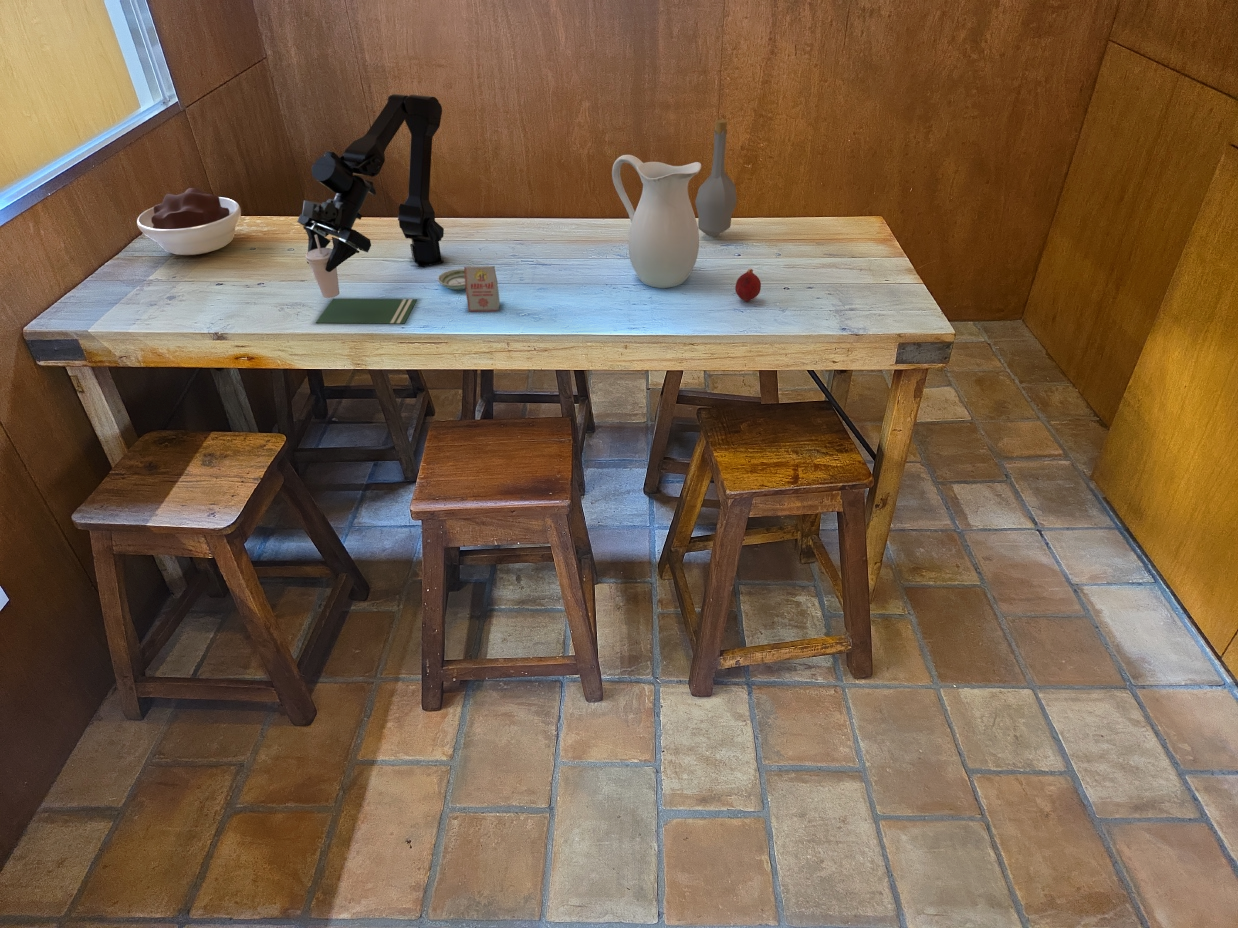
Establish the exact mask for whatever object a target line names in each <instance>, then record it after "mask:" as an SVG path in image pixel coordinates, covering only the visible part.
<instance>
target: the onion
mask: <svg viewBox="0 0 1238 928" xmlns="http://www.w3.org/2000/svg"><path fill="white" fill-rule="evenodd" d="M761 288H762V282H761V279H760V278H759V277H758V276H757V275H756V274H755V273H754V270H753V268H748V269H747V271H746V272H744V273H743V274H741V275H740V276H739V277H738V278H737V280H736V282H735V286H734V289H735V293H736V295H737V297H738V298H739V299H740V300H742V301H744V302H746V303H749V302H750V301H753V300H754V299H755V298H757V297H758V296H759V294H760V293H761V290H762V289H761Z"/></svg>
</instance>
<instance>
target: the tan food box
mask: <svg viewBox="0 0 1238 928" xmlns="http://www.w3.org/2000/svg"><path fill="white" fill-rule="evenodd" d="M463 269H464V272H465V288H466V289H465V295H466V302H467V309H468V310H467V311H468V312H499V309H500V304H501V301H500V293H499V284H498V278H497V272H496V268H495V265H493V266H492V265H490V266H489V265H487V266H464V267H463Z"/></svg>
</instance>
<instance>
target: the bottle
mask: <svg viewBox="0 0 1238 928" xmlns="http://www.w3.org/2000/svg"><path fill="white" fill-rule="evenodd" d="M727 126H728V120H727V119H716V120H715V129H714V135H713V137H714V139H713V156H712V166H711V171H710V174H709V176H708V177H707V178H706V179H705V181H704V182H702V184H701V185H700V186H698V191H697V194H696V198H695V202H694V204H695V208H696V212H697V216H698V217H697V221H698V223H697V226H698V230H700V231H701V232H702V233H703V234H705V235H706V236H708V237H711V238H718V237H719V236H720V235H722V233H724V232H726V231H727V230H729V229H730V228H731V225H732V217H733V213H734V211H735V208H736V206H737V203H738V196H737V188H736V184H735V183H734V182H733V180H732V179H731V178H730V177H729V176H728V175H727V173H726V171H725V170H726V169H725V168H726V165H725V160H726V159H725V158H726V142H727V134H728V128H727Z"/></svg>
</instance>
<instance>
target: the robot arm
mask: <svg viewBox="0 0 1238 928" xmlns="http://www.w3.org/2000/svg"><path fill="white" fill-rule="evenodd" d="M442 115H443V108H442V105H441V103H440V101H439V100H438V98H437V97H435V96H430V95H420V94H409V95H407V94H399V93H392V94H390V95H389V96H388V98H387V102H386V103H385V105H384V107H382V109H381V111H380V113H379V114H378V116H377V118H376V119H375V120H374V122H373V123H372V125H371V126H370V127H369V128H368V130H367V131H366V133H365V134H364V135H363V136H362V137H360V138H357V139H355V140H353V141H352V143H350V145H348V146H347V147H346V148H345V150H344V152H343V153H342V154H341V155H340V156H338V154H337V153H336V152H335V151H330V150H325V152H324V155H322V156H320V157H319V158H317V159H316V160H315V162H314V163H313V164H312V166H311V176H312V177H313V179H314V180H315V181H317V182H318V183H320V184H321V185H322V186H324V187H325V188H327V189H328V190H329V191H330V192H332V193H334V194H335V195H334V198H327V200H323V201H322V202H318V201H313V200H306V199H303V205H302V212H301V213H300V215H299V216H298V218H297V220H296V222H297V223H298V224H300V225H302V226H303V227H302V229H303V230H305V233H306V235H307V237H308V243H307V244H308V245H307V253H308V252H309V251H311V250H314V249H318V247H317V243H316V239H315V236H314V235H317V236H318V240H319V244H320V248H328V245H330V243H331V242H332V248H331V249H332V252H331V254H330V257H329V259H328V262H327V265H326V269H325V270H326V271H328V272H331V271H332V270H333V269H335V268H336V267H339V266H340V265H341V264H343V263H344V262H345V261H346V260H348V259H349V258H351V257H353V256H354V255H356V254H359V253H360V251H362V252H364V253H369V251H370V249H371V247H372V242H371V239H370V238H368V237H367V236H365V235H364V234H362V233H361V232H359V231H358V230H356V229H353V227H354V225H355V223H356V221H357V220H360V221H361V220H362V217H363V215H362V214H361V213H360V211H361V209H362V207H363V205H364V203H365V201H366V199H367V196H368V195H369V194H371V195H372V196H373V195H374V196H375V195H376V194H377V191H376V189H375V186H374V182H373V181H372V180H369V179H364V178H362V177H361V176H363V177H364V176H365V177H370V178H373V177H374V178H375V177H377V176H378V175H379V174H380V172H381V170H382V168H383V166H384V164H385V161H386V157H385V156H386V155H385V152H386V149H387V148H388V146H389V145H390V143H391V142H392V140H393V139H394V137H395V136H396V134H397V133H398V131H399V129H400V128H401V126H402V125H403V124H404V123H405V124H406V127H407V128H408V130H409V133H410V149H409V154H410V155H409V170H408V172H409V173H408V193H407V198H406V200H404V203H399V205H398V216H397V221H398V226H399V228H400V229H401V232H402V234H403V236H404V238H405V239H407V240H408V239H410V240H411V243H410V244H409V246H410V252H411V257H412V260H413V262H414V263H415V264H416V265H417V267H419V268H422V267H428V266H434V265H439V264H443V263H444V259H443V258H442V253H441V247H440V242H441V241H442V239H443V238H444V233H445V229H444V227H443V226H441V224H440V223H438V222H437V221H436V214H435V209H434V208H433V205H432V204H431V201H430V186H431V168H432V154H433V153H432V150H433V138H434V136H435V134H436V133H437V131H439V129H440V127H441V121H442ZM329 235H330V236H331V239H329V238H327V237H328V236H329ZM306 263H307V264H309V262H307V261H306ZM309 265H310V264H309Z"/></svg>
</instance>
